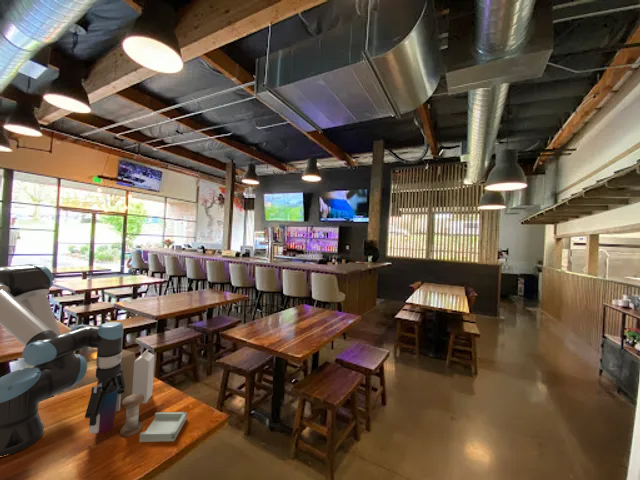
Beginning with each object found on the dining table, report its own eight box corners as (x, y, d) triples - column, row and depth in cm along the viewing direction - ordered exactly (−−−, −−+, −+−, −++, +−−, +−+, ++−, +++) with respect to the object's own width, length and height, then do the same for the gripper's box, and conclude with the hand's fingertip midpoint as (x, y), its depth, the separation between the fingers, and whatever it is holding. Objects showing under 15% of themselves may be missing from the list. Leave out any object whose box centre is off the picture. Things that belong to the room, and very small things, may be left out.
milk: (131, 404, 116) (134, 354, 116) (138, 395, 122) (140, 348, 122) (146, 403, 117) (149, 354, 117) (152, 395, 123) (155, 348, 123)
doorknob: (115, 437, 98) (117, 404, 98) (127, 423, 105) (129, 393, 105) (135, 436, 99) (138, 404, 98) (146, 423, 105) (147, 393, 105)
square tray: (139, 441, 96) (139, 434, 96) (155, 419, 108) (156, 412, 108) (174, 441, 98) (174, 433, 98) (186, 418, 110) (187, 412, 110)
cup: (103, 436, 97) (105, 396, 97) (88, 432, 99) (90, 393, 99) (120, 424, 104) (123, 386, 104) (106, 420, 105) (108, 383, 105)
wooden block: (94, 401, 116) (97, 356, 116) (118, 389, 126) (120, 347, 125) (111, 407, 113) (114, 361, 113) (133, 394, 123) (136, 352, 122)
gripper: (97, 381, 90) (93, 444, 90) (137, 350, 113) (134, 401, 114) (73, 381, 89) (69, 445, 89) (118, 350, 113) (115, 401, 113)
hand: (105, 420), depth 101 cm, fingers open, 11 cm apart
